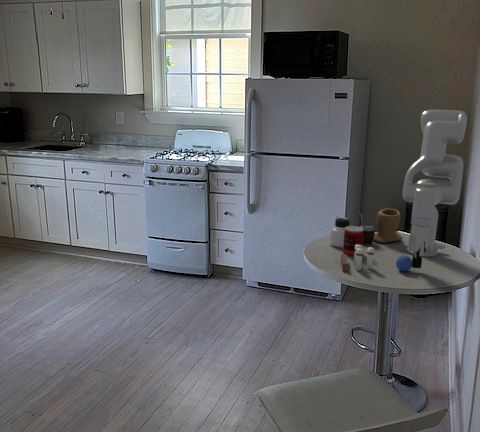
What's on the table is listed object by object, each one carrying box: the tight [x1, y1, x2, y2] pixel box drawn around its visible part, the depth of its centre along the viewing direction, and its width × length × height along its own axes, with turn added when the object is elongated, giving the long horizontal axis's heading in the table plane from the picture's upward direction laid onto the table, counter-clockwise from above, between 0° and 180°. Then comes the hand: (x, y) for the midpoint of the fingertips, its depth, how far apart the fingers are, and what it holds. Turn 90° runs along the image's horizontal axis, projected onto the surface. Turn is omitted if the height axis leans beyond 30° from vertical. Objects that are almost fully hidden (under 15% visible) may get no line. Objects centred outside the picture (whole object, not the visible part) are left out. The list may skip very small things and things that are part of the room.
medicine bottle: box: [329, 217, 350, 249], centre depth 224 cm, size 7×7×12 cm
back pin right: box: [353, 245, 363, 267], centre depth 199 cm, size 2×2×8 cm
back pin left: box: [354, 248, 364, 271], centre depth 194 cm, size 2×2×8 cm
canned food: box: [342, 225, 363, 257], centre depth 213 cm, size 8×8×11 cm
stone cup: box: [373, 207, 403, 243], centre depth 232 cm, size 15×12×15 cm
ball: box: [395, 255, 413, 272], centre depth 195 cm, size 6×6×6 cm
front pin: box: [365, 246, 375, 270], centre depth 196 cm, size 2×2×8 cm
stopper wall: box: [340, 253, 349, 273], centre depth 198 cm, size 2×12×3 cm, turn 173°
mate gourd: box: [356, 210, 376, 246], centre depth 227 cm, size 8×8×15 cm
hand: (416, 267), depth 194 cm, fingers closed
